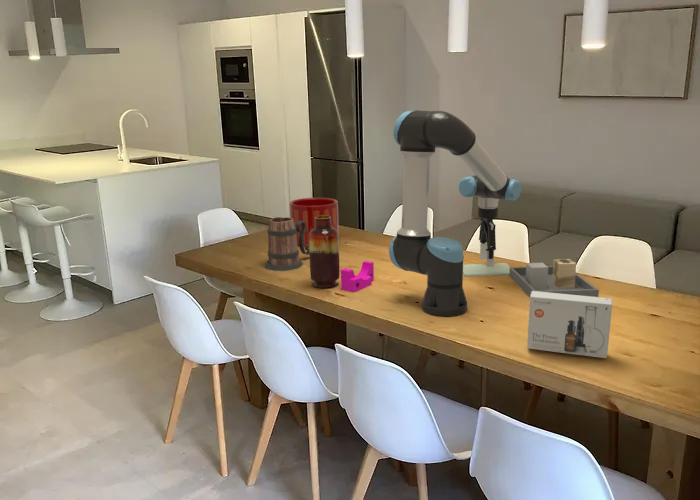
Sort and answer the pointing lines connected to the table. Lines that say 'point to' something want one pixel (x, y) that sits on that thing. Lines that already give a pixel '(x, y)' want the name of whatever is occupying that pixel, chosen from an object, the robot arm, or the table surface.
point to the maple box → (564, 273)
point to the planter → (313, 213)
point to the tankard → (285, 244)
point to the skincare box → (569, 323)
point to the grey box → (537, 275)
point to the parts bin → (580, 284)
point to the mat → (485, 270)
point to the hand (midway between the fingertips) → (486, 262)
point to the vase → (324, 253)
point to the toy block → (357, 277)
